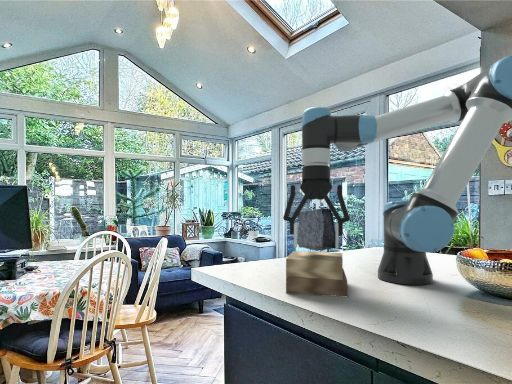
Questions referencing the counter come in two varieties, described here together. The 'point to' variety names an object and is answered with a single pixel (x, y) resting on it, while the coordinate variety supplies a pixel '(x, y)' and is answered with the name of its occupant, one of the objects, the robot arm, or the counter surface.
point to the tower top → (315, 265)
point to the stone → (316, 230)
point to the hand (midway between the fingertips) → (316, 247)
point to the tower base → (316, 286)
